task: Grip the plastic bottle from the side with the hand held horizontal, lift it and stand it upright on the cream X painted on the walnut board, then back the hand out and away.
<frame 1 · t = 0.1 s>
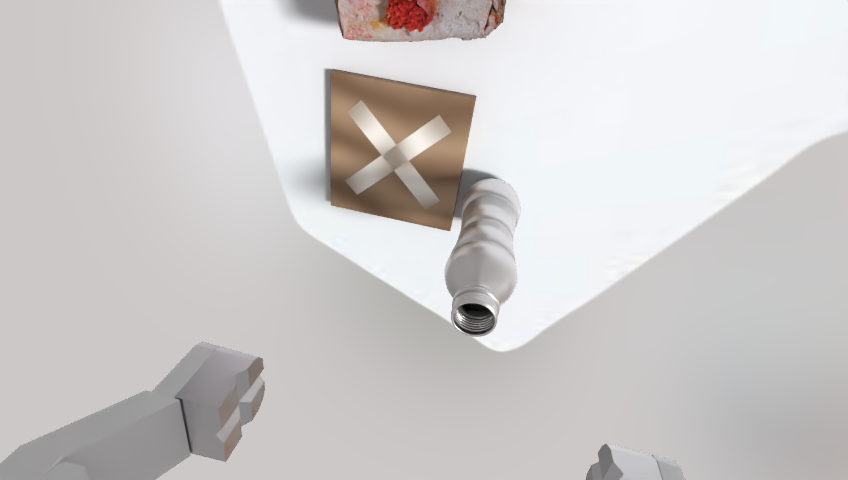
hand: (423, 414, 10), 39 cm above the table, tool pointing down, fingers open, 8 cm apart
plastic bottle: (492, 197, 50), on the table
brown board with cross: (397, 154, 50), on the table
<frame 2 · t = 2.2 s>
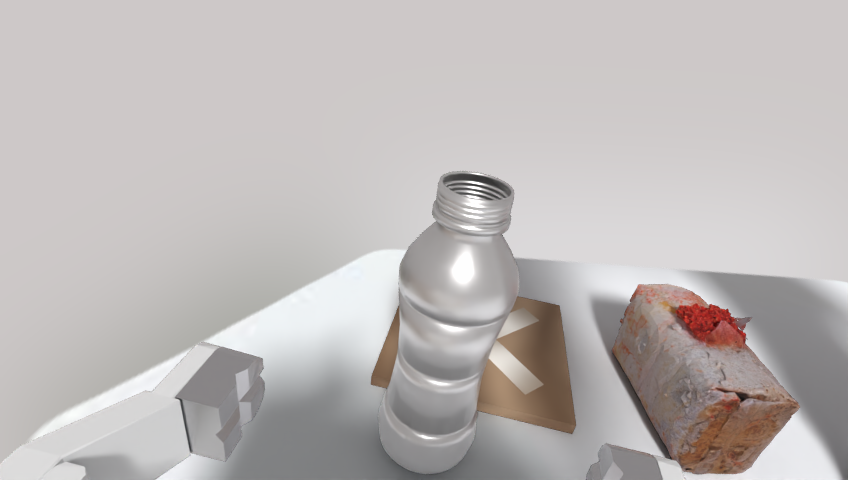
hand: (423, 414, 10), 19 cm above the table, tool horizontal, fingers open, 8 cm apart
food item: (667, 403, 38), on the table
plastic bottle: (422, 445, 31), on the table
brown board with cross: (476, 343, 41), on the table
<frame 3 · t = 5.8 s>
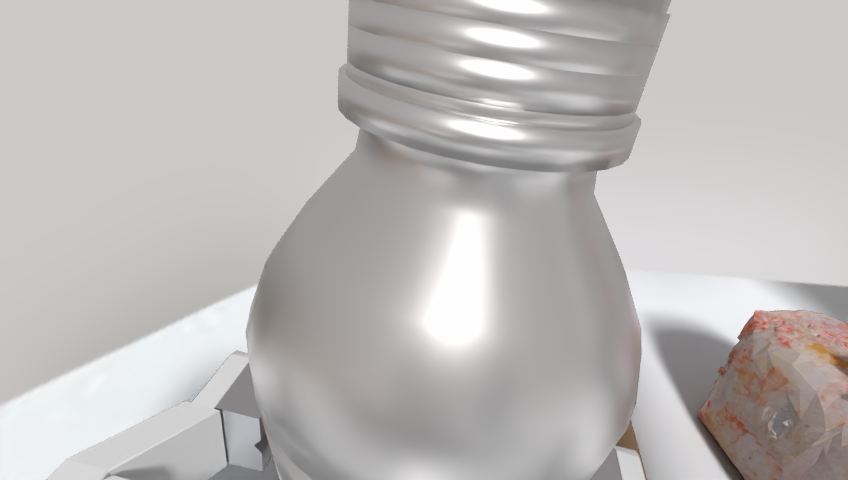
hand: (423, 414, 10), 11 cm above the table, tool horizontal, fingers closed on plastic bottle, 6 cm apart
brown board with cross: (481, 404, 25), on the table
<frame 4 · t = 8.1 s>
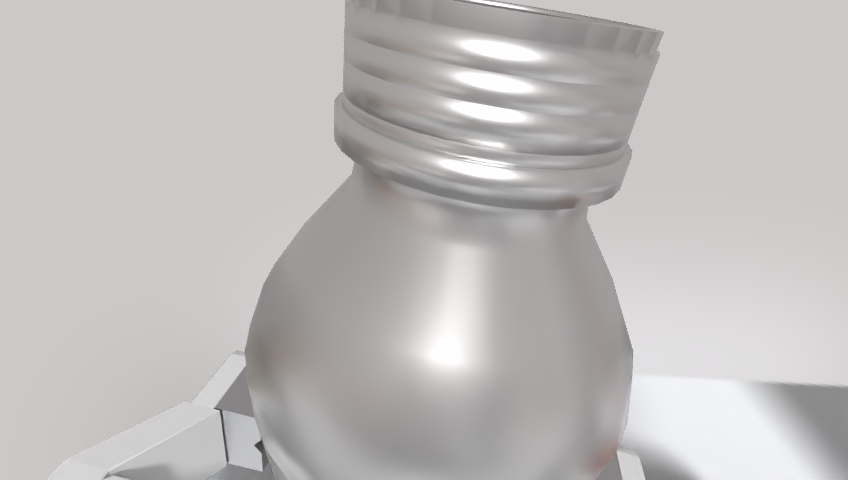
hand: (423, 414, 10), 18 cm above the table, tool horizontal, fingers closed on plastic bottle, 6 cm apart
when the fingers open (13 cm above the table, at t = 10.1 s): plastic bottle stays where it is, resting on brown board with cross.
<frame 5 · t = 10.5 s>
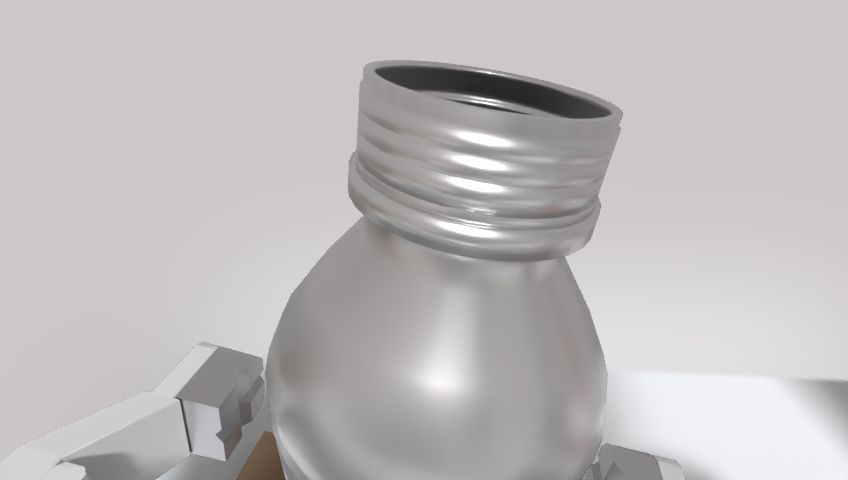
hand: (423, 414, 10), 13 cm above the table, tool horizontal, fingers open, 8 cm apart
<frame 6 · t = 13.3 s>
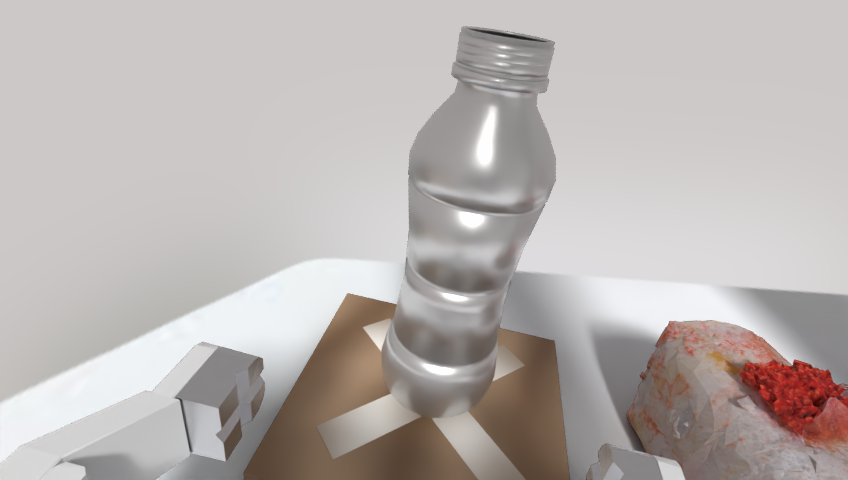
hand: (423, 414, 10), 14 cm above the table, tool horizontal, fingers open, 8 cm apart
plastic bottle: (431, 391, 27), point 1 cm above the table, touching brown board with cross
brown board with cross: (429, 403, 27), on the table
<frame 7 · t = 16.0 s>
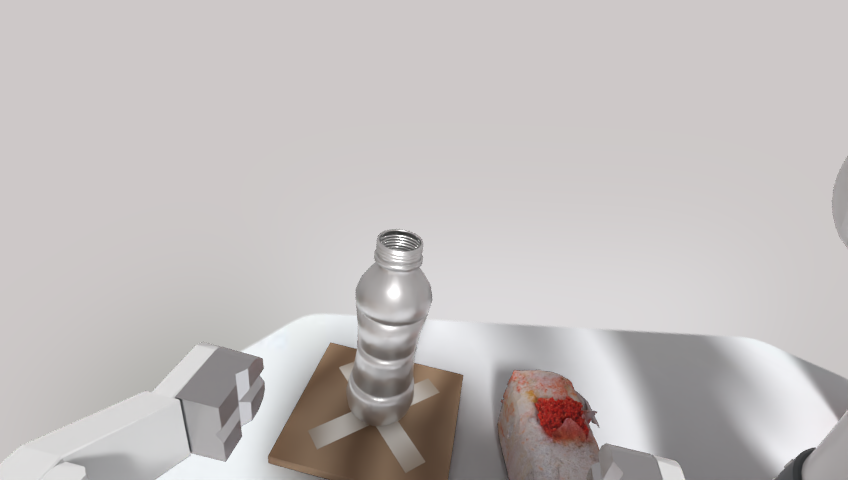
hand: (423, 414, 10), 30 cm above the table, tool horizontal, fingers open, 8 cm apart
food item: (538, 479, 42), on the table
plastic bottle: (378, 409, 45), point 1 cm above the table, touching brown board with cross
brown board with cross: (377, 416, 45), on the table
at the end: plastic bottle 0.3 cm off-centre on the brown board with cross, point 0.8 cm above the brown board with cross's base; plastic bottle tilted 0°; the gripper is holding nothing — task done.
